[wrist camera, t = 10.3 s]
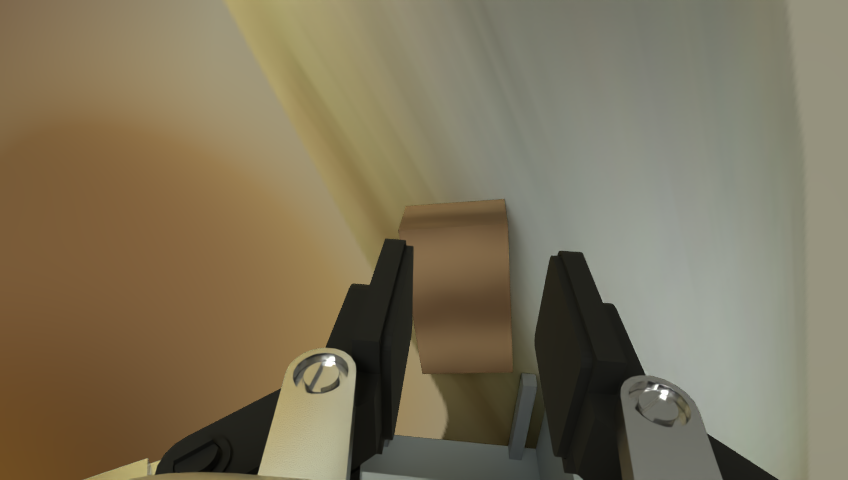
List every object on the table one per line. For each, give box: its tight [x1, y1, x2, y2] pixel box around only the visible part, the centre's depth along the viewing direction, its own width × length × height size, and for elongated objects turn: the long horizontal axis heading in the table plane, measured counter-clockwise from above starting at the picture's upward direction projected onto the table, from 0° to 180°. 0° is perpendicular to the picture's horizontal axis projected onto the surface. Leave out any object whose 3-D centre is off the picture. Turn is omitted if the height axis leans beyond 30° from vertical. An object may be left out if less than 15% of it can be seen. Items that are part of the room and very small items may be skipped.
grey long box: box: [362, 373, 583, 480], centre depth 32 cm, size 10×17×10 cm, turn 88°
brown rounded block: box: [398, 199, 513, 374], centre depth 29 cm, size 11×6×4 cm, turn 7°
